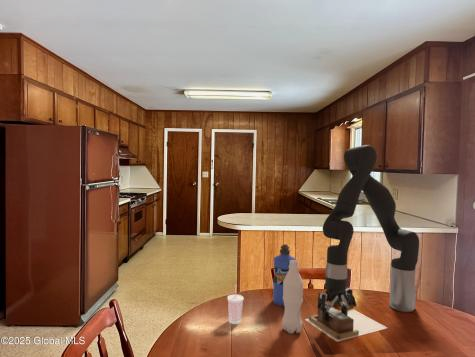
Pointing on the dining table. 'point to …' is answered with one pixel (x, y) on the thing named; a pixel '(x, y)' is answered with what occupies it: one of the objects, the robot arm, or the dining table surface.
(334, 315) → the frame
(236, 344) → the dining table surface
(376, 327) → the wall board
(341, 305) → the pottery mug
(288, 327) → the water bottle
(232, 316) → the beverage cup
